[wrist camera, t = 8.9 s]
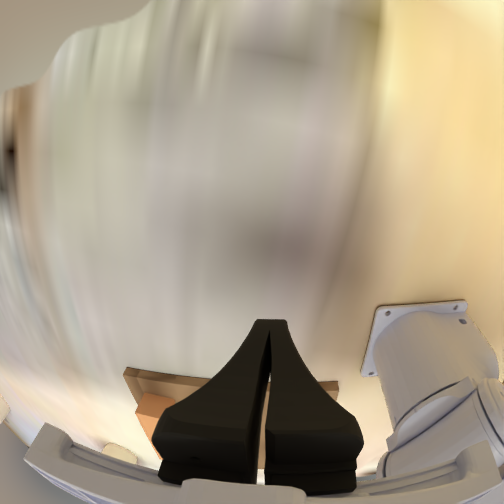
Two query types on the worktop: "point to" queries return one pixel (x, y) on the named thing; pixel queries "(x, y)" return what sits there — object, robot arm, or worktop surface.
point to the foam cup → (119, 453)
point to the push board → (186, 386)
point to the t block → (152, 412)
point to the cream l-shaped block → (3, 408)
